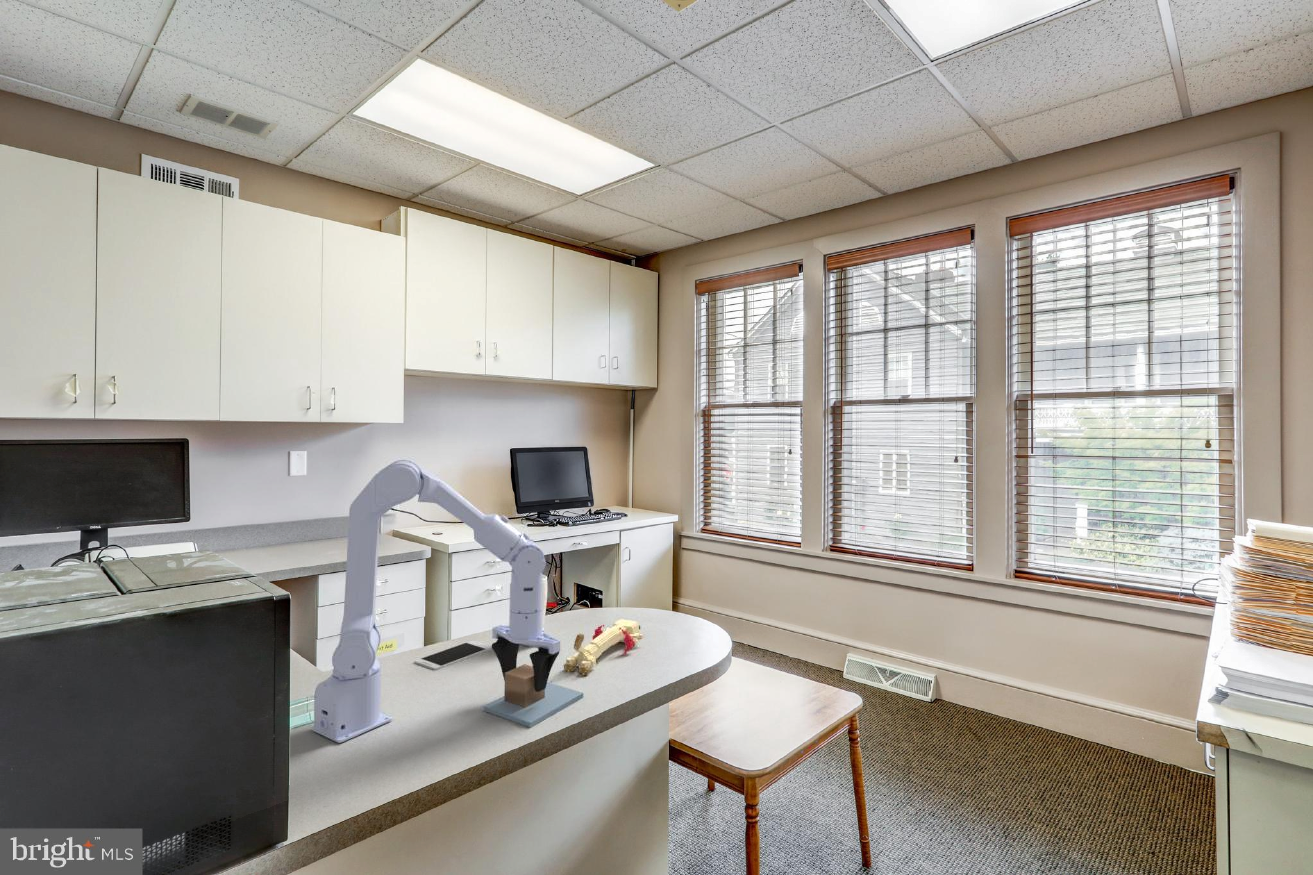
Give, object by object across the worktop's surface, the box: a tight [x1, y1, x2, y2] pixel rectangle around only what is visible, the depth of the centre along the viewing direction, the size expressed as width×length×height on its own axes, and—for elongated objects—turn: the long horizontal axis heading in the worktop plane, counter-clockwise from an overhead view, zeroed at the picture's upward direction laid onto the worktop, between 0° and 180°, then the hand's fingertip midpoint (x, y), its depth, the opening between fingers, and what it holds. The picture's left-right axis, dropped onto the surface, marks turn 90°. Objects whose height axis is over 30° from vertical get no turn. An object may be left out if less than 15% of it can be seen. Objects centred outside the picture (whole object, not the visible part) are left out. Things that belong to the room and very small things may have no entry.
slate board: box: [482, 681, 584, 728], centre depth 114 cm, size 14×11×1 cm
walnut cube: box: [503, 663, 545, 708], centre depth 114 cm, size 5×5×5 cm
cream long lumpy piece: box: [563, 618, 644, 676], centre depth 139 cm, size 10×9×25 cm
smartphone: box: [413, 639, 493, 671], centre depth 137 cm, size 7×16×1 cm, turn 147°
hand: (524, 684), depth 114 cm, fingers open, 7 cm apart
